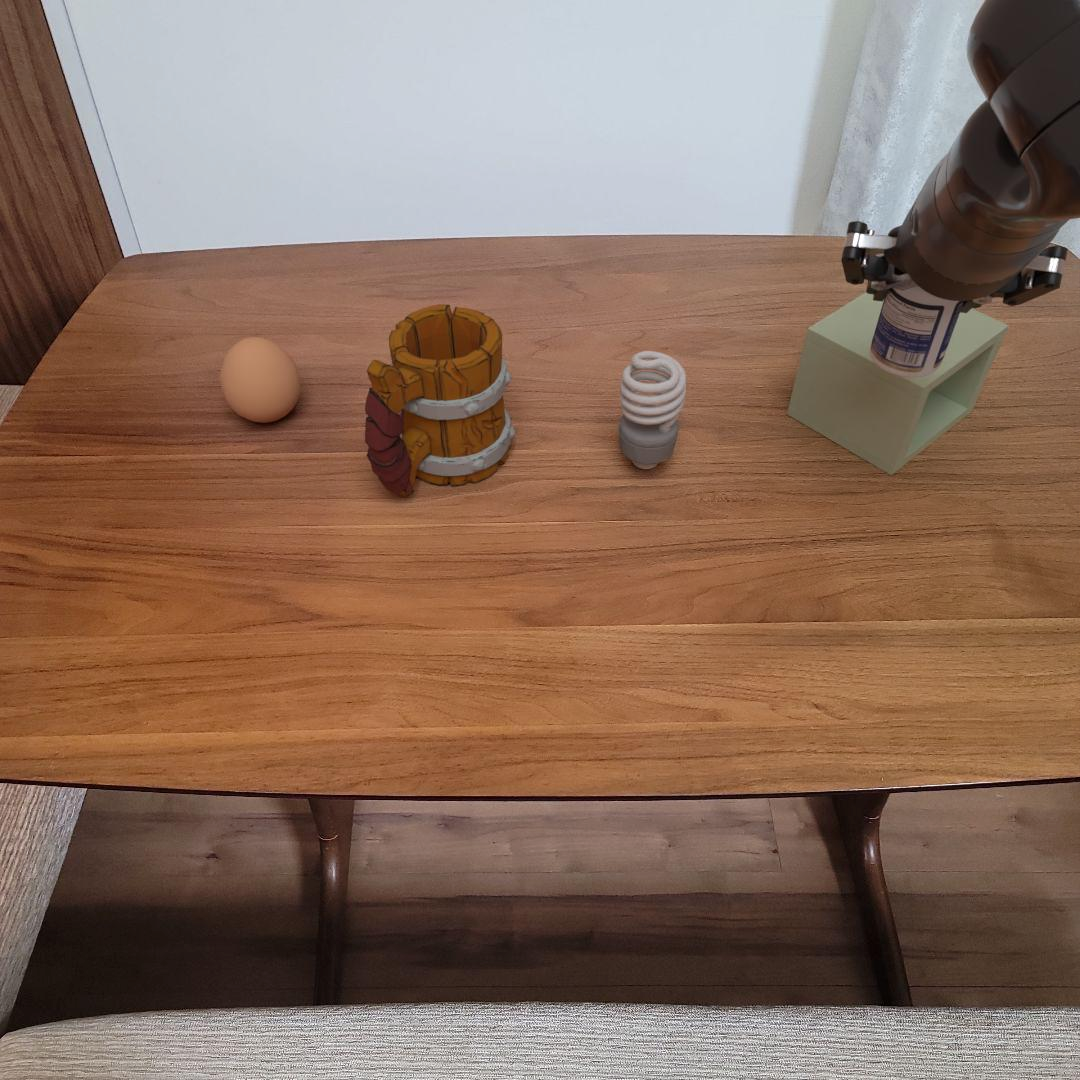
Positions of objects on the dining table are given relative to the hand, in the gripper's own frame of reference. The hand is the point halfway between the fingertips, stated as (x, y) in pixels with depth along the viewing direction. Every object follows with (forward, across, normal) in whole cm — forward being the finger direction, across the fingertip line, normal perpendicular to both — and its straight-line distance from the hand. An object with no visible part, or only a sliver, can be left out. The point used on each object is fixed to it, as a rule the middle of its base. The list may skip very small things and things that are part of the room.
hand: (921, 293), depth 70 cm
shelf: (+22, -2, +6) cm, 23 cm away
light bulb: (+12, +19, +16) cm, 28 cm away
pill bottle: (+2, 0, +5) cm, 5 cm away
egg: (+11, +56, +18) cm, 60 cm away
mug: (+9, +38, +19) cm, 43 cm away
